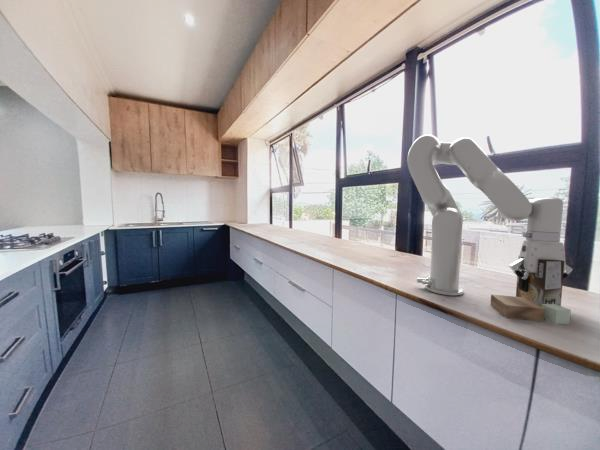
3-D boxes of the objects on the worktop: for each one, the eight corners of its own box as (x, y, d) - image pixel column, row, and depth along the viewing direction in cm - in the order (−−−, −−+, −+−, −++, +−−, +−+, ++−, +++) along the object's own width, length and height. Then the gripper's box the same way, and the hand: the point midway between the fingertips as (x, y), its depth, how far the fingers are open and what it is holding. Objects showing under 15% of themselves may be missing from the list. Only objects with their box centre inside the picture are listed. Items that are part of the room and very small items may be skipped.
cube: (555, 324, 67) (556, 309, 66) (540, 317, 71) (541, 304, 70) (569, 323, 67) (570, 309, 67) (553, 317, 71) (554, 303, 71)
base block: (505, 318, 70) (506, 305, 70) (490, 306, 79) (491, 294, 79) (543, 322, 68) (544, 308, 68) (523, 309, 76) (524, 297, 76)
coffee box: (562, 312, 74) (566, 260, 73) (542, 313, 73) (547, 261, 72) (531, 300, 83) (534, 254, 82) (513, 301, 82) (517, 254, 81)
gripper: (518, 237, 74) (514, 293, 76) (587, 239, 71) (581, 298, 72) (503, 234, 82) (499, 285, 83) (565, 236, 78) (560, 289, 80)
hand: (538, 291), depth 78 cm, fingers closed on coffee box, 7 cm apart
